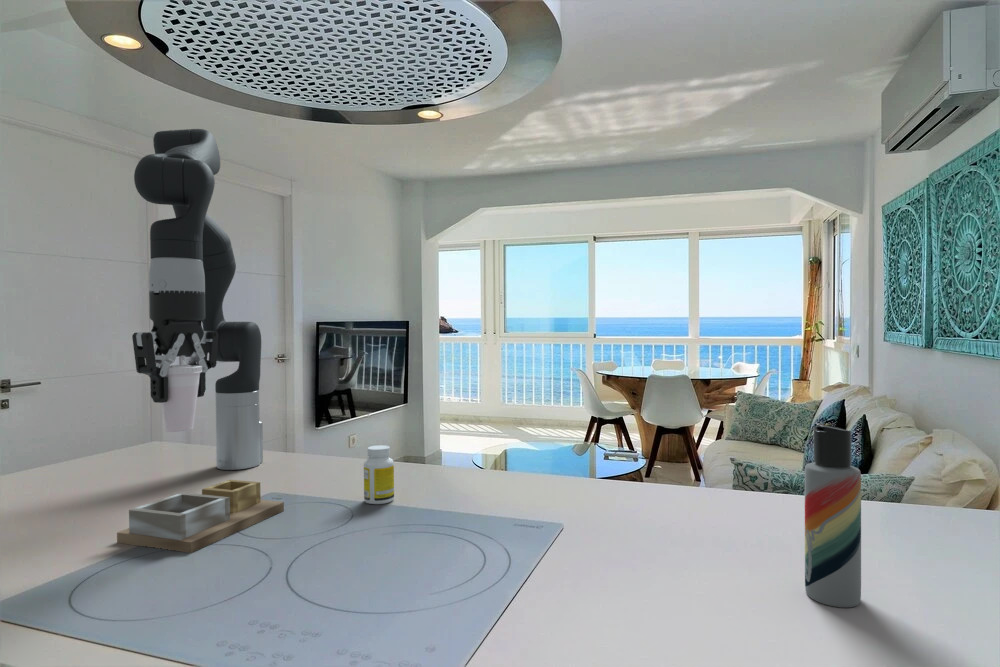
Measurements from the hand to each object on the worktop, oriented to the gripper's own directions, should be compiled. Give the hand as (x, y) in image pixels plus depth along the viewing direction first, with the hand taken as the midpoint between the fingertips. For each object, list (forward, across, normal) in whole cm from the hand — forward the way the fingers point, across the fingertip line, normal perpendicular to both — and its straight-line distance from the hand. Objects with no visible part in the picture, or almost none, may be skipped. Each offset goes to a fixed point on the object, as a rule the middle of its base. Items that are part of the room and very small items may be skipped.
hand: (179, 399), depth 91 cm
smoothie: (+5, 0, 0) cm, 5 cm away
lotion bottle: (+21, -6, +90) cm, 93 cm away
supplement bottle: (+21, -25, +20) cm, 38 cm away
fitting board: (+21, -5, 0) cm, 22 cm away
